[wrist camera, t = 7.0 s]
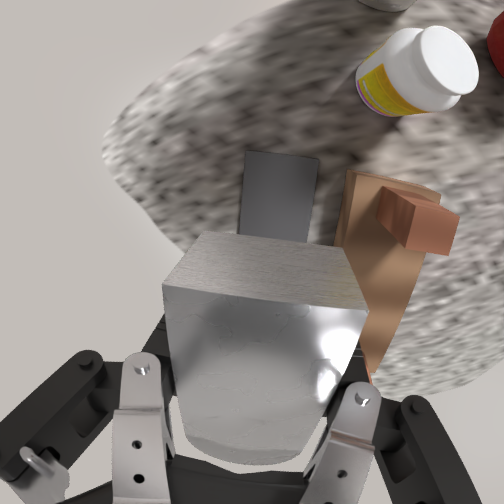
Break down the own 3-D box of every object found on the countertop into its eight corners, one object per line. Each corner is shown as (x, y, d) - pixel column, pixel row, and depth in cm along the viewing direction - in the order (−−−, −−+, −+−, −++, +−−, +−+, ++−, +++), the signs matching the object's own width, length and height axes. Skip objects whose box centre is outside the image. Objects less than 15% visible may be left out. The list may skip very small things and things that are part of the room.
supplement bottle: (405, 127, 22) (482, 130, 11) (347, 102, 23) (396, 78, 11) (418, 73, 20) (491, 48, 8) (361, 46, 20) (410, -5, 8)
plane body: (347, 169, 25) (384, 191, 15) (423, 186, 25) (483, 216, 15) (307, 349, 35) (309, 417, 25) (368, 353, 34) (385, 416, 24)
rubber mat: (246, 150, 26) (245, 150, 25) (318, 159, 25) (319, 159, 25) (237, 261, 31) (236, 263, 30) (300, 269, 30) (301, 272, 30)
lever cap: (204, 230, 10) (161, 284, 7) (342, 247, 10) (369, 310, 6) (206, 399, 15) (190, 454, 11) (292, 411, 14) (290, 468, 11)
